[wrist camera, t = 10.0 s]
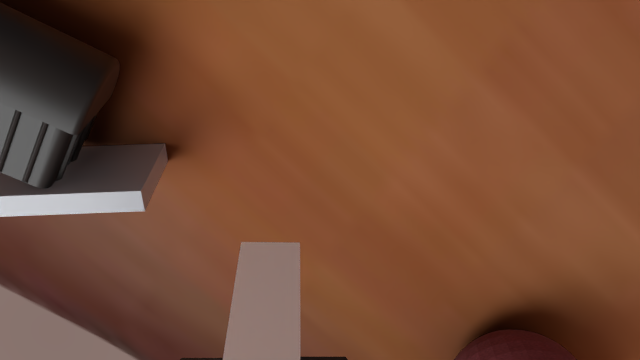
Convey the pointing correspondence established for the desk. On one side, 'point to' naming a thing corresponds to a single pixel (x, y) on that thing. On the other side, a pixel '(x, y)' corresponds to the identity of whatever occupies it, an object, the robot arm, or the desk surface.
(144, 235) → the desk surface
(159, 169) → the box
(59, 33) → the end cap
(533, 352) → the decorative ball
